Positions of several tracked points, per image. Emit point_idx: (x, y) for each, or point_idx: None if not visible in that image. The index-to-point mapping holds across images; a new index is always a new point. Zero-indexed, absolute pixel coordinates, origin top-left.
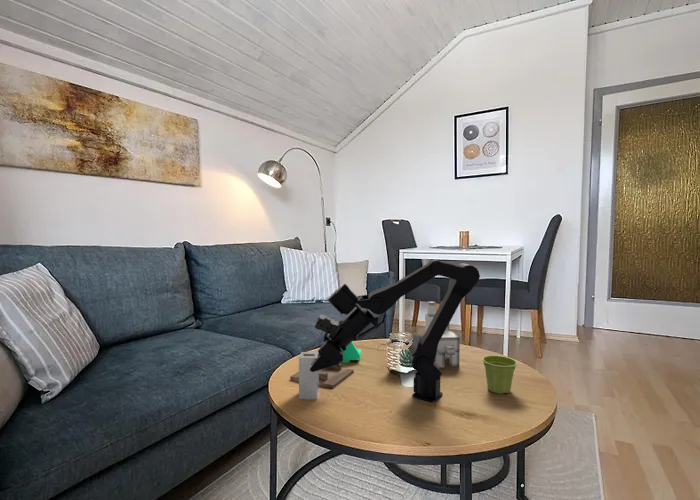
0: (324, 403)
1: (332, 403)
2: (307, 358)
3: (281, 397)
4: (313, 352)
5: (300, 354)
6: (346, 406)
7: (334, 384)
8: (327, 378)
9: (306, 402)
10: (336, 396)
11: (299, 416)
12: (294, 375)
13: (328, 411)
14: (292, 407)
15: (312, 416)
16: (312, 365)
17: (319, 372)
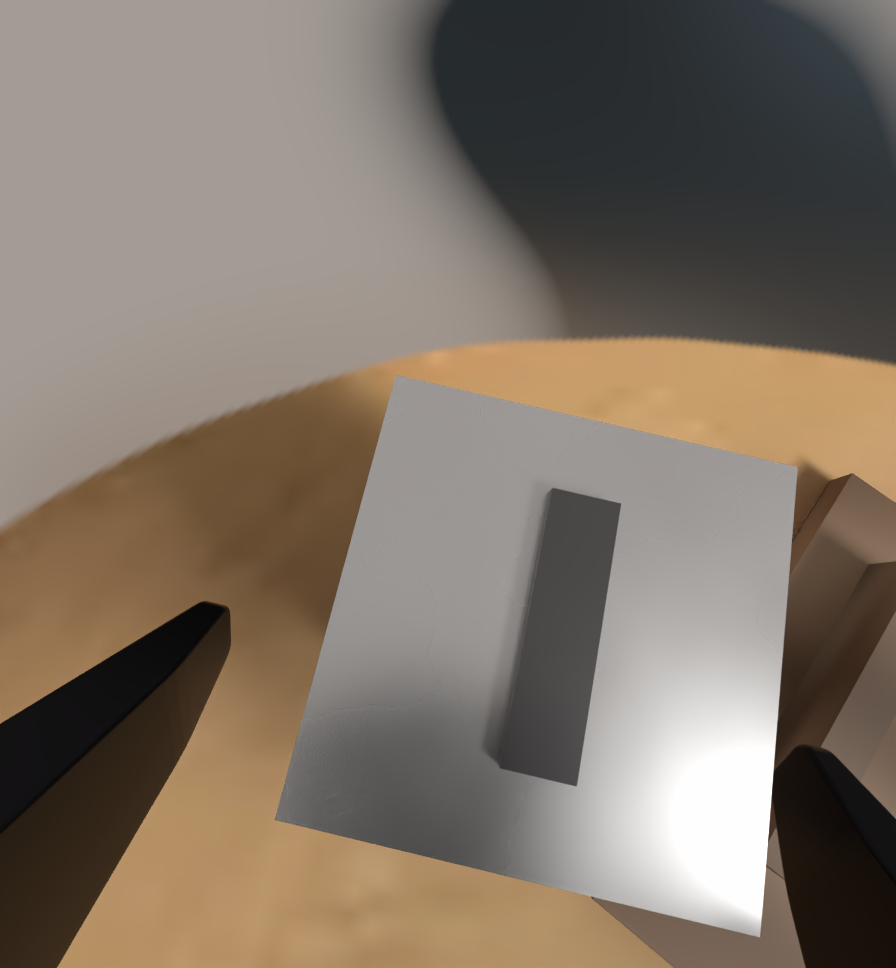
0: (276, 739)
1: (255, 818)
2: (344, 565)
3: (478, 391)
4: (745, 768)
5: (623, 430)
6: (152, 955)
7: (618, 920)
8: None
9: (337, 580)
10: (395, 887)
11: (108, 502)
12: (883, 514)
13: None
14: (277, 461)
15: (71, 602)
16: (136, 655)
17: None
